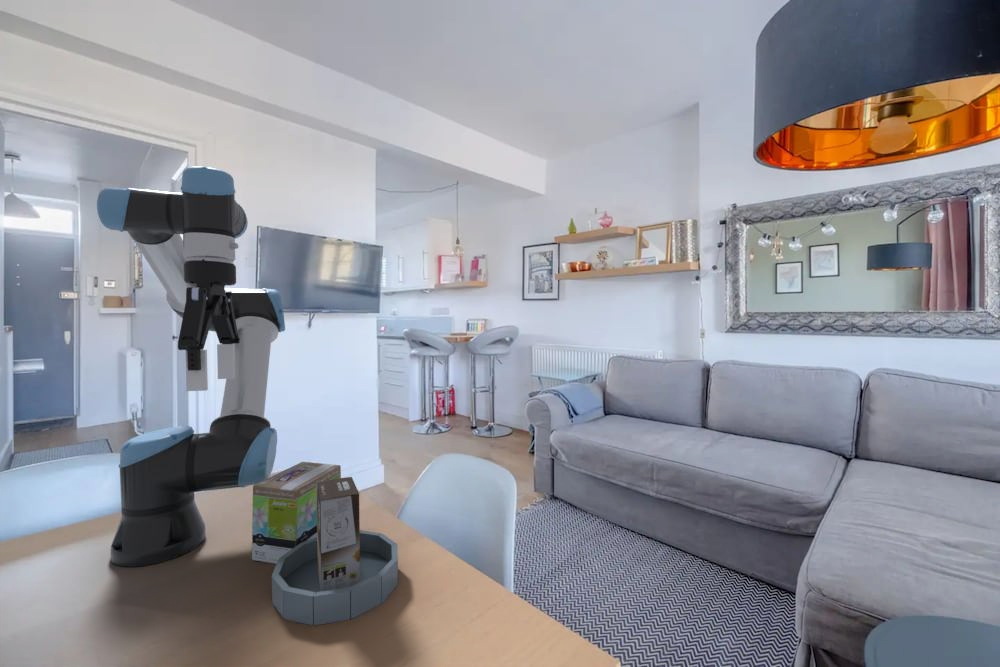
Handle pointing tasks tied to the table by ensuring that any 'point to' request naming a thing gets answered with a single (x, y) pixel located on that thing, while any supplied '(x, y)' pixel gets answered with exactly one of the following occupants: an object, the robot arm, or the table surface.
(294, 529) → the tea box
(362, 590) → the bowl
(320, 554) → the coffee box
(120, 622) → the table surface
